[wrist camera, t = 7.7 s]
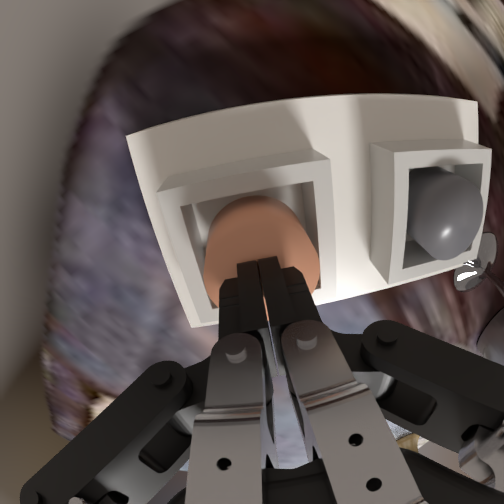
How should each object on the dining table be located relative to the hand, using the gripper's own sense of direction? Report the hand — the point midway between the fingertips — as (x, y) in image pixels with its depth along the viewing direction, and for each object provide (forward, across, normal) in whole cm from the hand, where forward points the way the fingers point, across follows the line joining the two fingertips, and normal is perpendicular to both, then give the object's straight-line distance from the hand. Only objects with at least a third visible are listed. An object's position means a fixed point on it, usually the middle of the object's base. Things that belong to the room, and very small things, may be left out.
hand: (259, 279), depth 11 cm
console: (+8, -5, 0) cm, 10 cm away
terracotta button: (+3, 0, 0) cm, 3 cm away
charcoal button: (+4, -10, 0) cm, 11 cm away
